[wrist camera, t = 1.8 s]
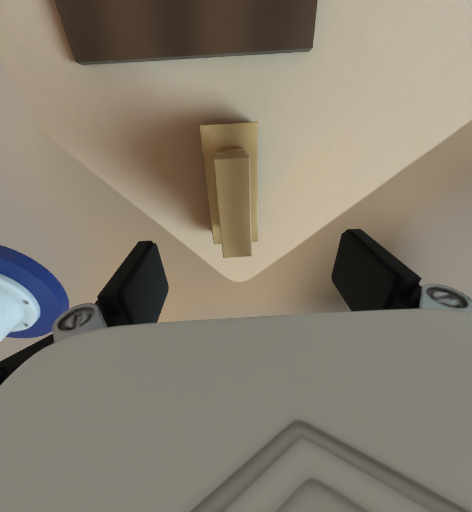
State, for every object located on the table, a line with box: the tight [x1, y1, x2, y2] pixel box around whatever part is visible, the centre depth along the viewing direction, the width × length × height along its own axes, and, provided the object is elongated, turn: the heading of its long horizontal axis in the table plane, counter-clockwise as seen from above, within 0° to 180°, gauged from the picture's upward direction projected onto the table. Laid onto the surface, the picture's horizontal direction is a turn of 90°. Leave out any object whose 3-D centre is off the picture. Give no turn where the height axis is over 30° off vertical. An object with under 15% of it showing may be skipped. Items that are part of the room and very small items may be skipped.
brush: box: [199, 122, 258, 258], centre depth 20 cm, size 5×12×10 cm, turn 3°
